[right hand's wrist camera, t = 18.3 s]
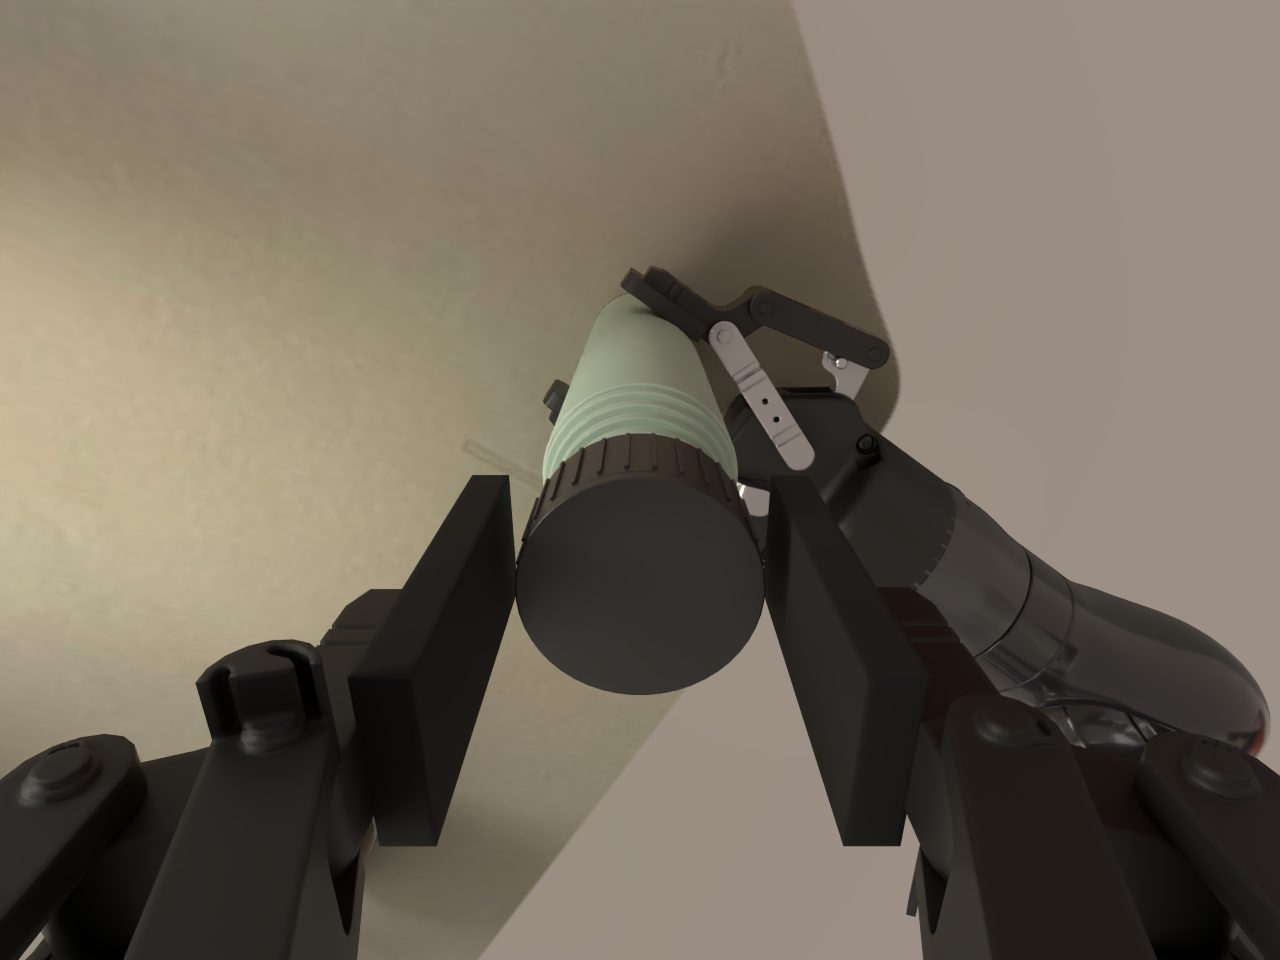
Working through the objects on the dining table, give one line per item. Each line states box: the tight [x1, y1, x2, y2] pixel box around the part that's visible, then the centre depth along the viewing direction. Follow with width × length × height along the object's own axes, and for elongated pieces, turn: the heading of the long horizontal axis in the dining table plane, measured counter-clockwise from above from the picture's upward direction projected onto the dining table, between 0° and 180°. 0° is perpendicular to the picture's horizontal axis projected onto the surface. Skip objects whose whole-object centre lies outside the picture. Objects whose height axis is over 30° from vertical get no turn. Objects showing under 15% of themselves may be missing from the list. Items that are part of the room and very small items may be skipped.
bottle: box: [542, 293, 738, 486], centre depth 24 cm, size 5×5×24 cm
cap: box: [515, 433, 765, 695], centre depth 14 cm, size 5×5×2 cm
